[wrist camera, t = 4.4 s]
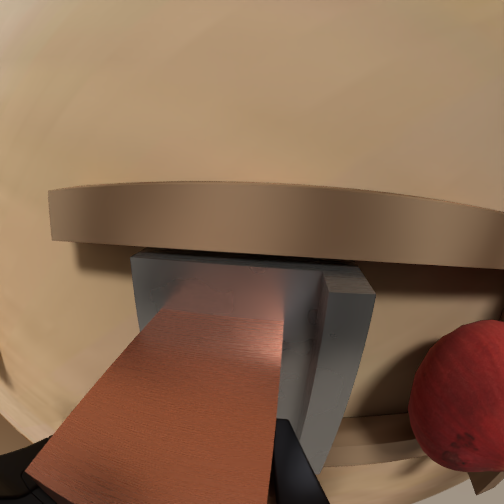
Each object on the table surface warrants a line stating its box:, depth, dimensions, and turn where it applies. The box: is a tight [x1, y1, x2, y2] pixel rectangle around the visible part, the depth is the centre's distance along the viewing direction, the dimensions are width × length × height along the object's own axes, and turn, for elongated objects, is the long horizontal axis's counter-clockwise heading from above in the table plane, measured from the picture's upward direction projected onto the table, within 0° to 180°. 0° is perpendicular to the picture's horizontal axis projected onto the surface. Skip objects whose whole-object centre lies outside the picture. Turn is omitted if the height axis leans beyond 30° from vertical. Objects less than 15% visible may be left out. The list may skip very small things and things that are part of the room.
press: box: [25, 247, 376, 504], centre depth 7 cm, size 7×8×9 cm
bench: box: [48, 181, 504, 495], centre depth 8 cm, size 22×13×6 cm, turn 88°
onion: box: [408, 320, 504, 472], centre depth 7 cm, size 6×6×8 cm
